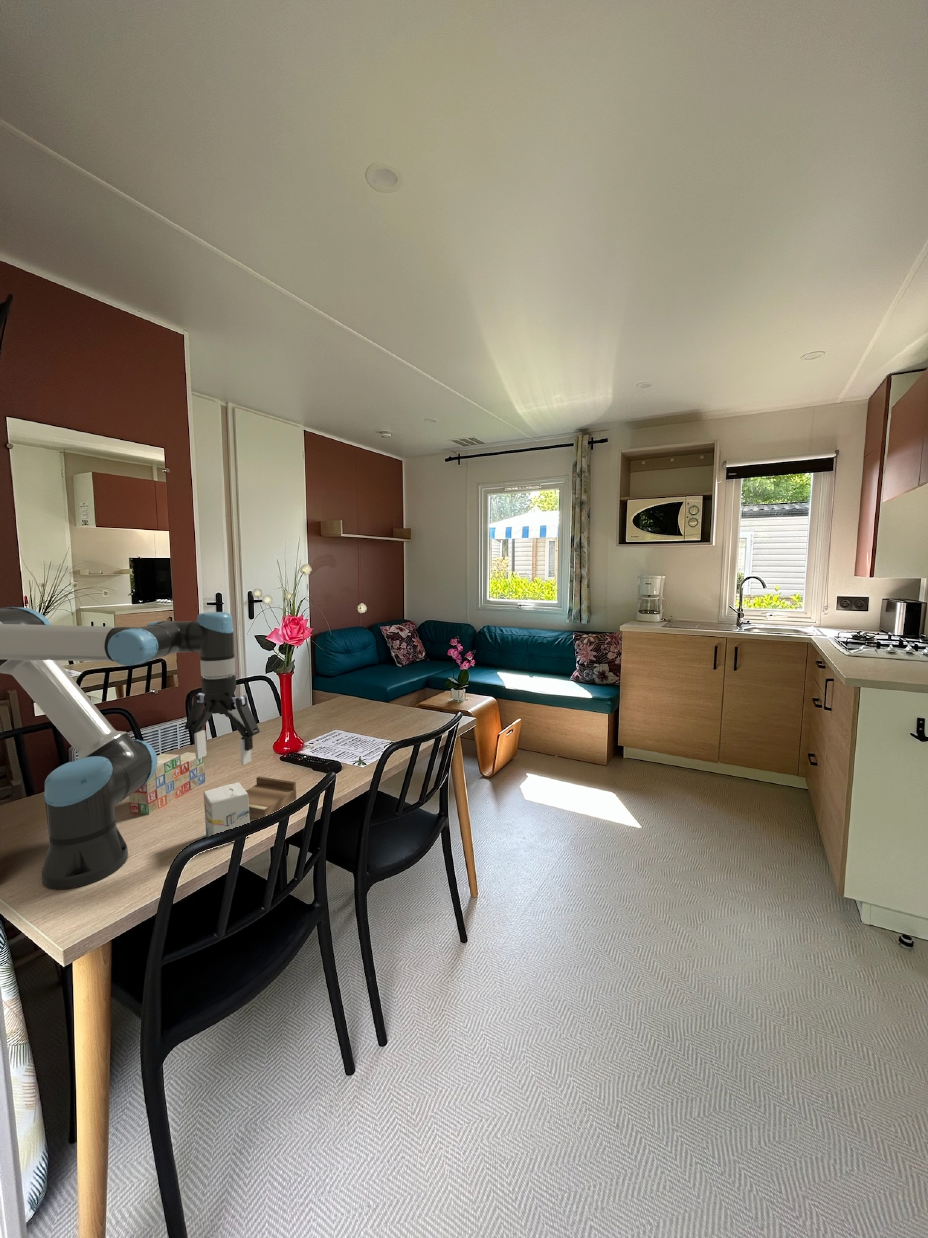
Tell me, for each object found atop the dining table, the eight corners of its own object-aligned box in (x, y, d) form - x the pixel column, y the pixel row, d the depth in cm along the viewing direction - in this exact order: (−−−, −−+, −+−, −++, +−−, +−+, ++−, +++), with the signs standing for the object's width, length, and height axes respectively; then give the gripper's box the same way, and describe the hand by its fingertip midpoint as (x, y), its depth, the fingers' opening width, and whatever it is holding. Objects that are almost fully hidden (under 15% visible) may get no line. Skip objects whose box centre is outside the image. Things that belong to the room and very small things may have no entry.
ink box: (205, 835, 121) (202, 790, 120) (241, 824, 127) (238, 780, 126) (213, 850, 115) (210, 803, 114) (251, 837, 120) (248, 792, 119)
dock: (264, 820, 128) (264, 802, 128) (225, 813, 132) (224, 795, 132) (296, 798, 141) (295, 782, 140) (259, 792, 145) (258, 776, 144)
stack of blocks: (188, 780, 154) (186, 742, 153) (205, 781, 153) (203, 743, 151) (129, 813, 133) (126, 769, 132) (148, 815, 132) (145, 771, 131)
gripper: (272, 675, 119) (276, 759, 121) (190, 670, 126) (195, 749, 128) (250, 682, 111) (255, 771, 114) (164, 676, 118) (170, 760, 121)
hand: (223, 760), depth 121 cm, fingers open, 13 cm apart
